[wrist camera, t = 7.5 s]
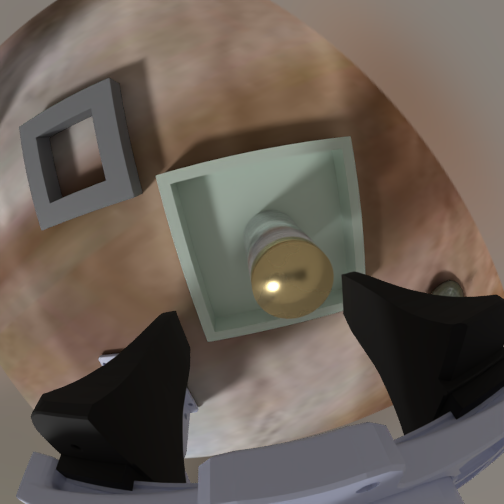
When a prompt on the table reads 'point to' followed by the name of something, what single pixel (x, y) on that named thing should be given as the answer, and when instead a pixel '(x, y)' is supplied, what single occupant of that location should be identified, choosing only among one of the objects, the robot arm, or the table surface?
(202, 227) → the tray
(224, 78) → the table surface
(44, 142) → the holder
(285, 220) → the pin
